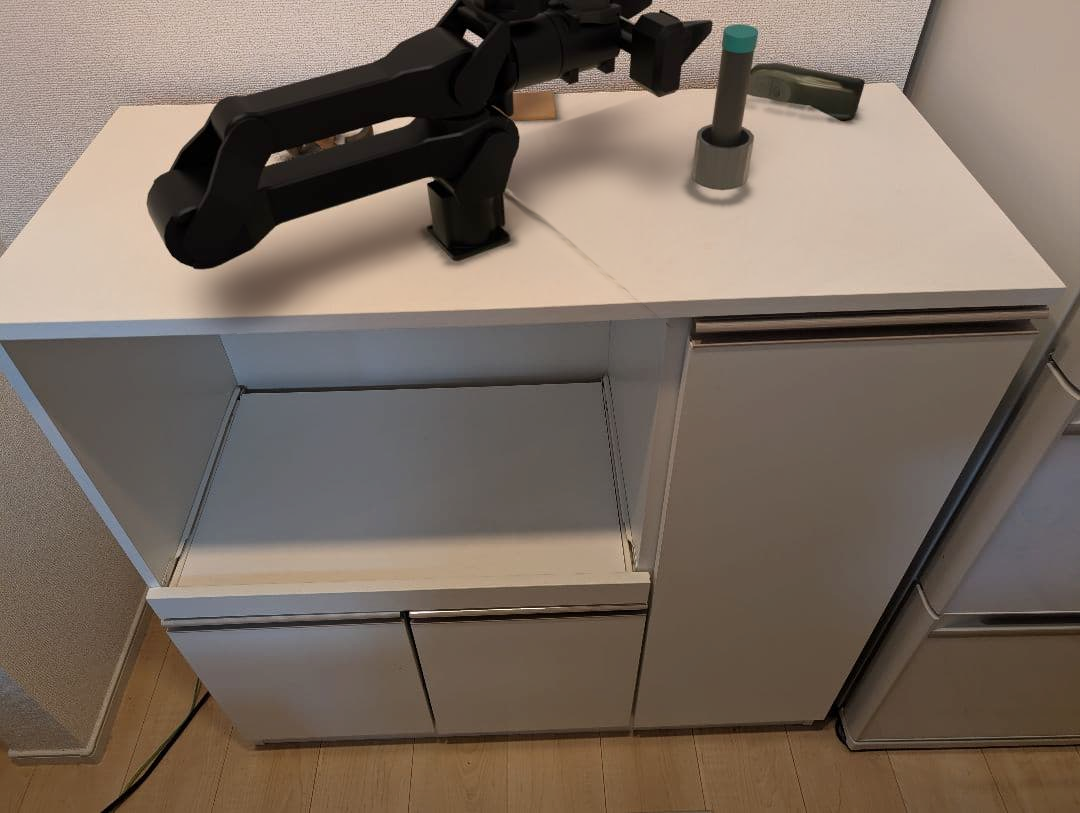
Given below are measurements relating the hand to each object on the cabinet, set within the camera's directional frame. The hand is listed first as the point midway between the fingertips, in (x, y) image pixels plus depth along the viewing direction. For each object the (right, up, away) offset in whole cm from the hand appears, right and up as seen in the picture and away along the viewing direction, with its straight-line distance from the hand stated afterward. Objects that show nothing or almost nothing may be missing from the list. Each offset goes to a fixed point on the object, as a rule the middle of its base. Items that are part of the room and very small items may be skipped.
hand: (680, 11), depth 78 cm
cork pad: (-16, -1, +23) cm, 28 cm away
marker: (+5, -14, +7) cm, 17 cm away
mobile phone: (+18, -2, +21) cm, 27 cm away
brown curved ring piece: (-39, -10, +15) cm, 43 cm away
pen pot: (+6, -15, +8) cm, 18 cm away
